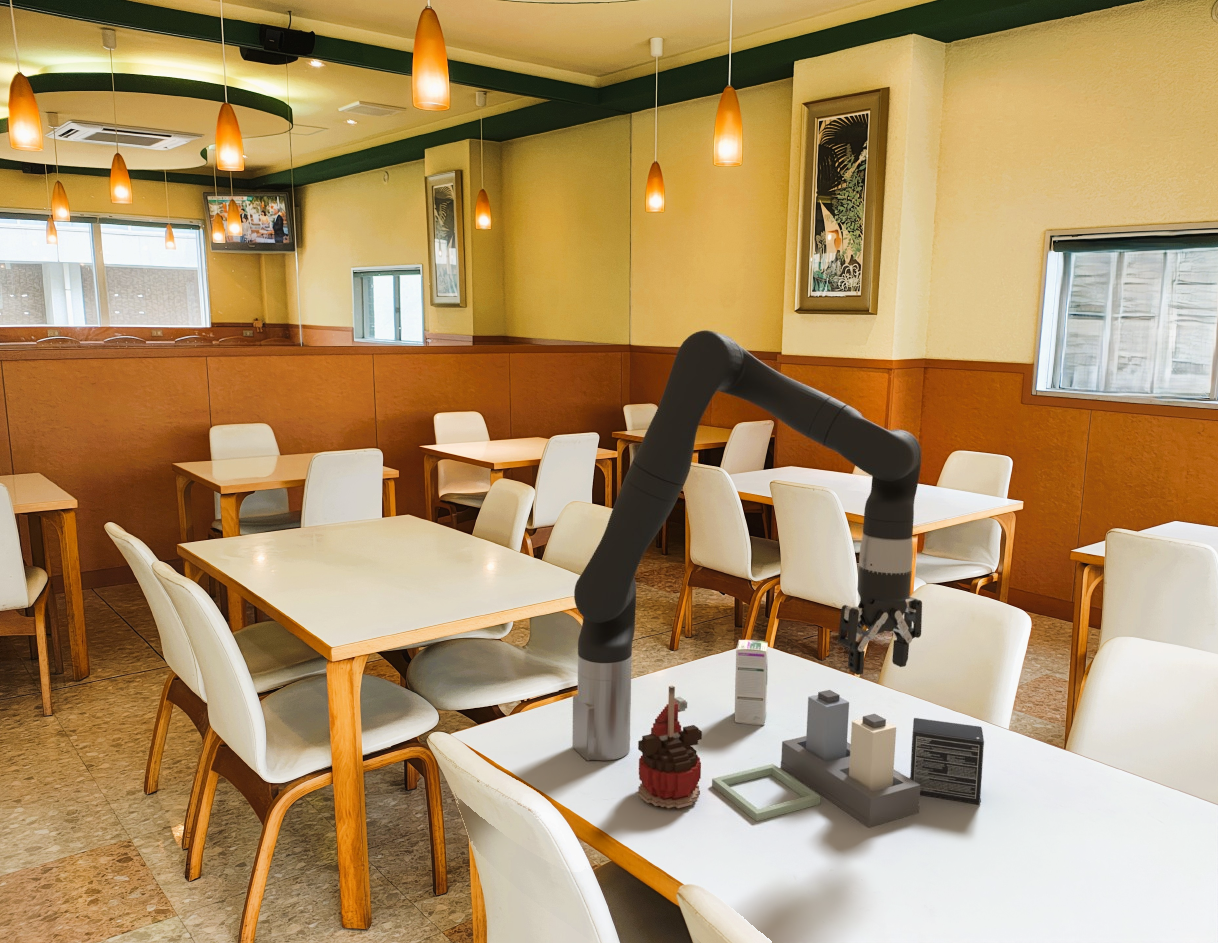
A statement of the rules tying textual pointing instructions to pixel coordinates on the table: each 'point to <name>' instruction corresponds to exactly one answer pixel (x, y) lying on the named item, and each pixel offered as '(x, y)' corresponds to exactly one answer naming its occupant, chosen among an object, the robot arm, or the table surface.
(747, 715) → the syrup box
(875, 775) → the plug
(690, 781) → the cake
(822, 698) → the blue-grey knobbed block
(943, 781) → the small box
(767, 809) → the tray frame
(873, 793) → the outlet strip
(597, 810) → the table surface
